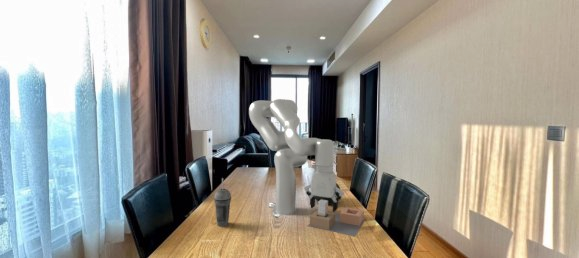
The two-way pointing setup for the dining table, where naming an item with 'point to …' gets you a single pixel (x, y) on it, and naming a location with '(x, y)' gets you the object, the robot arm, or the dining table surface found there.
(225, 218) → the beverage cup
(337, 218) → the dock plate
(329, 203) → the squash
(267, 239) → the dining table surface
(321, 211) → the peg
